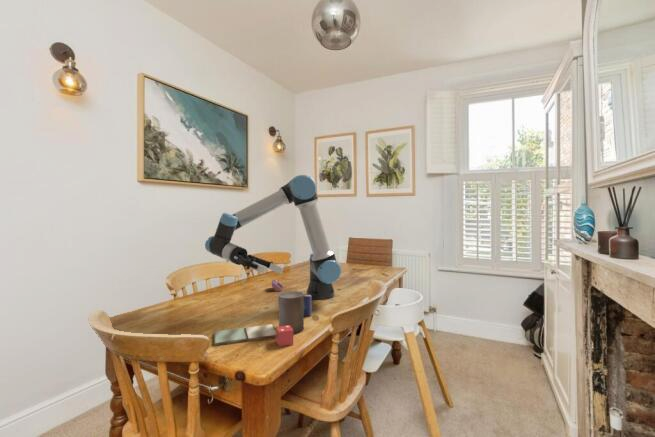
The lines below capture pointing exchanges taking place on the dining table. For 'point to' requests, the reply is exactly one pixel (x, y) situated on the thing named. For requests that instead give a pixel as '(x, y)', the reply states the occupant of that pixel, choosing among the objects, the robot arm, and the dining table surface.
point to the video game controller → (277, 285)
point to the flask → (307, 304)
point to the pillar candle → (291, 310)
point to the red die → (284, 335)
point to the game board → (244, 334)
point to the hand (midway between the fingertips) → (274, 270)
